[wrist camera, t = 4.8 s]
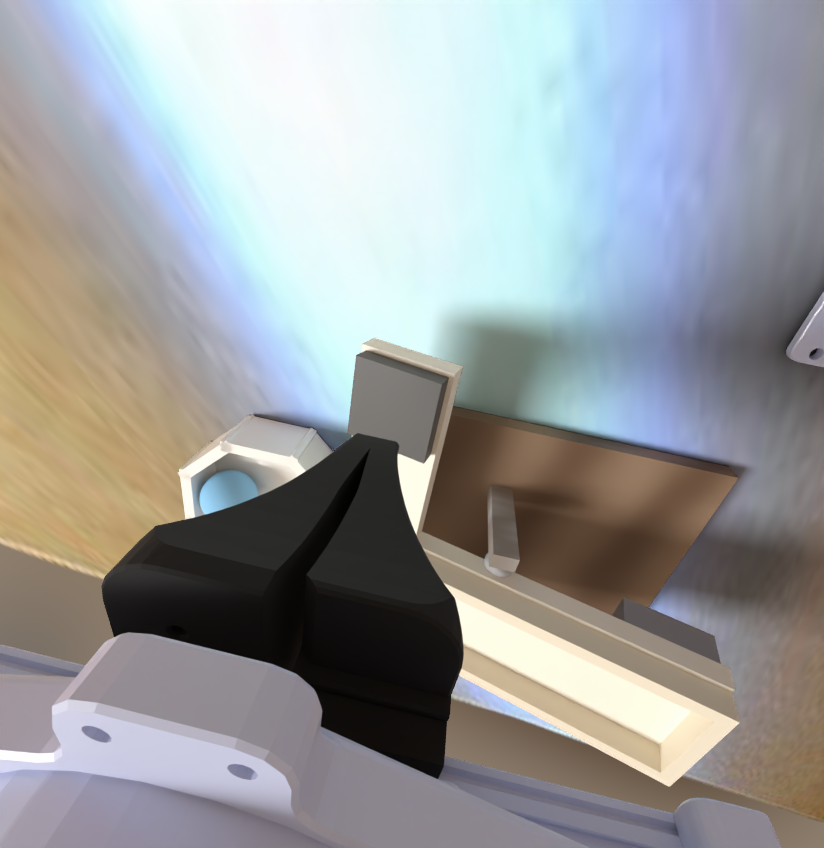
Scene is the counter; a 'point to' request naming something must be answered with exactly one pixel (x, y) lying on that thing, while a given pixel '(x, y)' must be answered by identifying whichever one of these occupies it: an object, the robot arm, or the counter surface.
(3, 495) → the counter surface
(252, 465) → the cup
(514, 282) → the counter surface
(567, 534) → the lever stand
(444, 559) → the tipping lever
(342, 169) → the counter surface
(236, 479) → the ball
